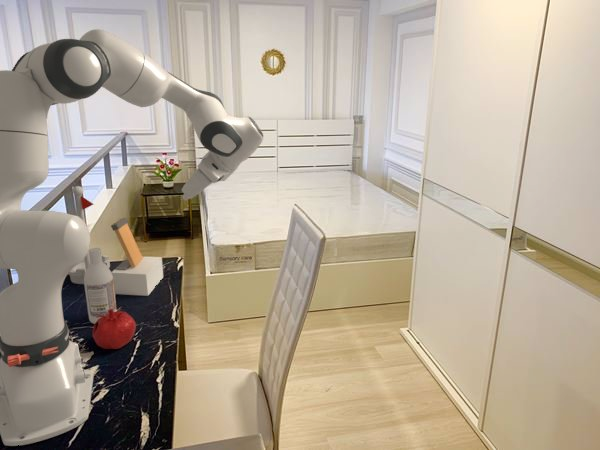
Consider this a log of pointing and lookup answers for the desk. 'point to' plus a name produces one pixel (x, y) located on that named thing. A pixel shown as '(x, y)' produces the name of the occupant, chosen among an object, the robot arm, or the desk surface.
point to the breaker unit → (137, 276)
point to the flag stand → (81, 268)
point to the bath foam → (98, 287)
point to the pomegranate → (114, 329)
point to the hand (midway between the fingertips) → (184, 197)
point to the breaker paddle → (127, 241)
